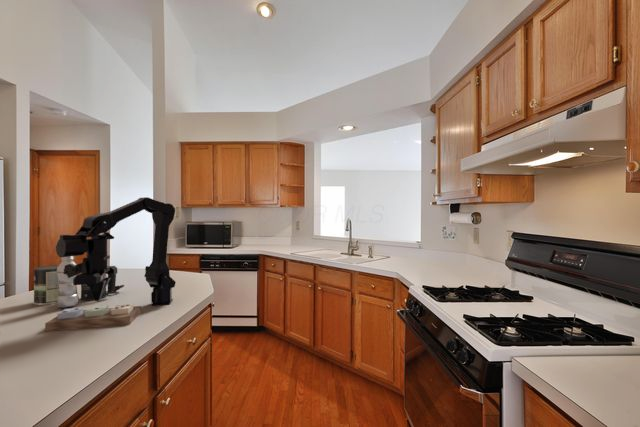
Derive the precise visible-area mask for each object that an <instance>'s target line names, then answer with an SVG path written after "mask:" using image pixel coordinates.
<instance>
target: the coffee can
mask: <svg viewBox="0 0 640 427" xmlns="http://www.w3.org/2000/svg"><path fill="white" fill-rule="evenodd" d="M59 265H60V264H59ZM59 265H58V264H57V265H56V264H55V265H48V266H47V265H44V266H39V267H38V266H37V267H34V268H33V270H32V271H33V305H35V306H48V305H54V304H57V298H58V293H59V280H58V275H57V268H58V266H59Z"/></svg>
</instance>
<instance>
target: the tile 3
mask: <svg viewBox="0 0 640 427" xmlns="http://www.w3.org/2000/svg"><path fill="white" fill-rule="evenodd" d="M133 307H134V303H131V304H119V305H116V306H114V307H112V308H113V309H111V315H119V314H129V313H130V312H132V311H133Z"/></svg>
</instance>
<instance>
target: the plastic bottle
mask: <svg viewBox="0 0 640 427" xmlns="http://www.w3.org/2000/svg"><path fill="white" fill-rule="evenodd" d="M60 260H61V263H59V266H58V268H57V275H58V280H59V293H58V298H57V303H56V304H57V307H59V308H64V309H68V308H72V307H75V306H76V305H78V303H79V300H80V298H79V293H78V285H73V278H74V277H76V276H77V275H75V276H72V277H70V278H68V276H67V275H66V274H63V272H64V270H63V269H64V268H65V265H68V264H71V263H73V264H74V265H77V263H76V262H75V261H74V260H75V256H70V257H61V258H60ZM67 307H68V308H67Z"/></svg>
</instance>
